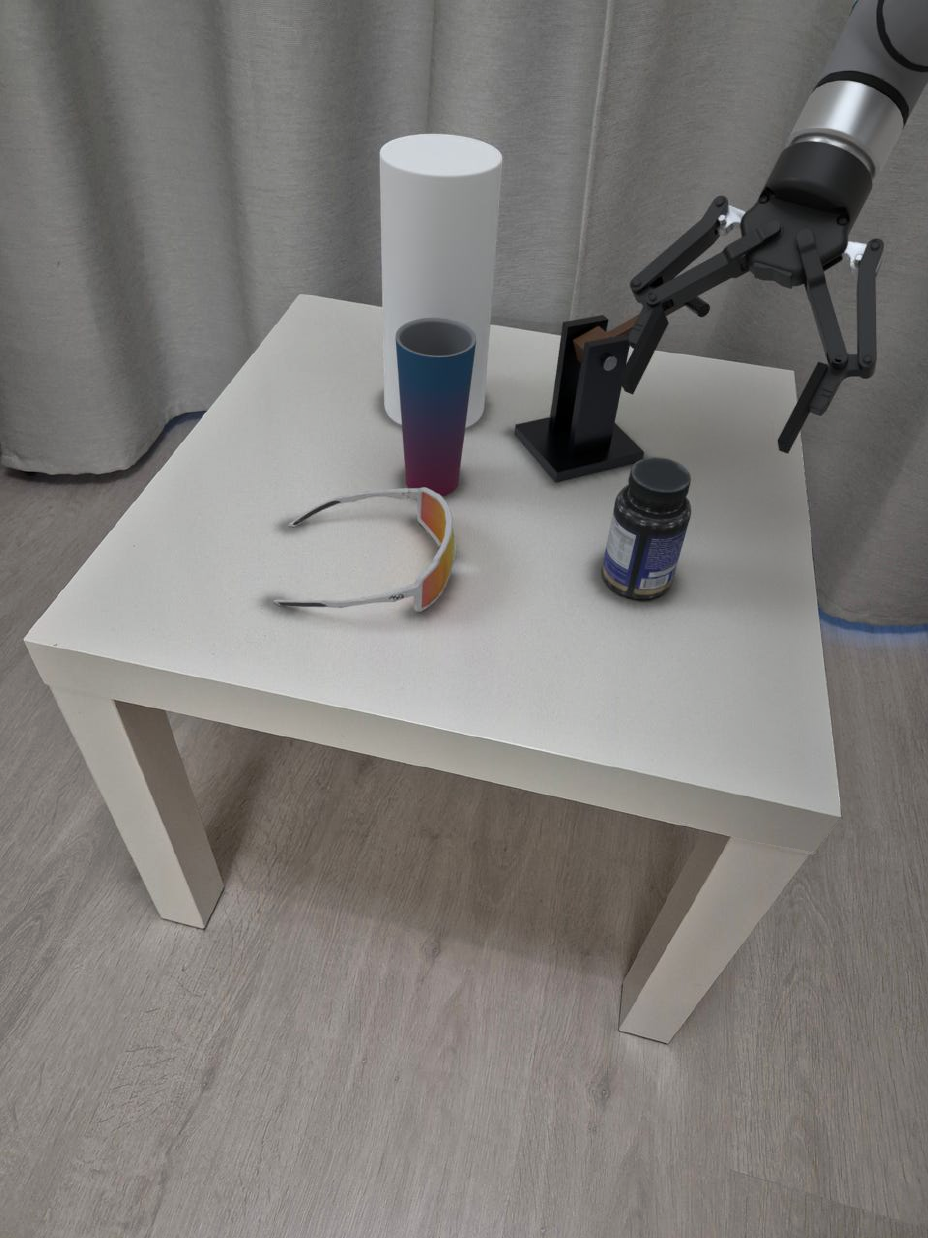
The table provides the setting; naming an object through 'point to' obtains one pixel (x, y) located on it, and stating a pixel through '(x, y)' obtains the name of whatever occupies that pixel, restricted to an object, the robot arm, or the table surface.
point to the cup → (434, 399)
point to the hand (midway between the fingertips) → (701, 416)
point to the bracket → (583, 408)
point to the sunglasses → (433, 579)
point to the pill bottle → (647, 529)
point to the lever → (625, 328)
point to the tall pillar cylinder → (438, 245)
